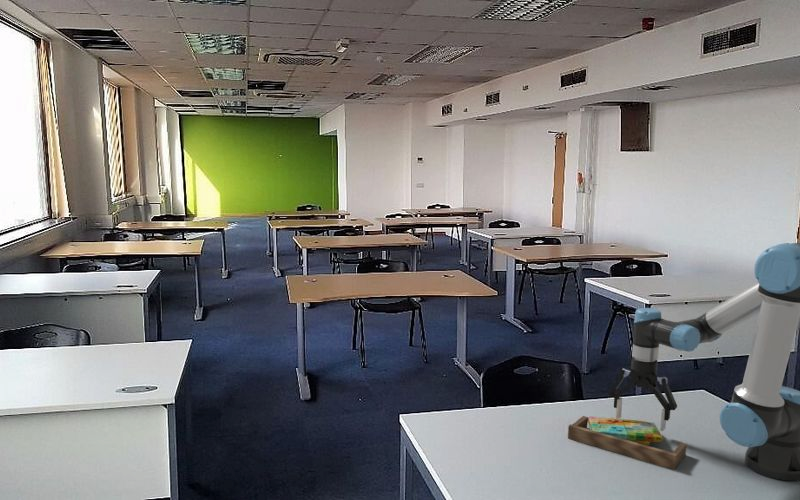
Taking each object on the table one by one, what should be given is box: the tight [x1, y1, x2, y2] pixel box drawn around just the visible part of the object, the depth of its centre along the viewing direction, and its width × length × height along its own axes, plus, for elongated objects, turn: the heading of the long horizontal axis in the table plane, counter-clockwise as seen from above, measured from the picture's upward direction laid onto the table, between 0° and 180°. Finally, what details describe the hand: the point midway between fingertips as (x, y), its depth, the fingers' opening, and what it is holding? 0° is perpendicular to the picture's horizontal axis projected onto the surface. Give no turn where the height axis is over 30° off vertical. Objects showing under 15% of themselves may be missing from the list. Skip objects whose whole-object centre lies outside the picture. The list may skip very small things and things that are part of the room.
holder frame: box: [567, 415, 688, 471], centre depth 186 cm, size 31×12×4 cm, turn 52°
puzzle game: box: [587, 416, 664, 446], centre depth 192 cm, size 12×5×20 cm
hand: (640, 423), depth 197 cm, fingers open, 13 cm apart
